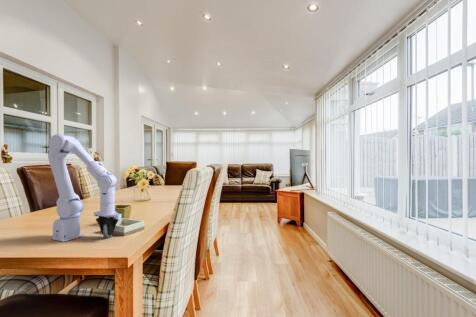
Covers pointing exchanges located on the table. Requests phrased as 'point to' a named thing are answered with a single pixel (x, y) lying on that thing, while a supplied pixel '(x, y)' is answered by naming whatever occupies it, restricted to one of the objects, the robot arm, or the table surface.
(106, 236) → the peg
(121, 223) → the box
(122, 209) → the flower pot
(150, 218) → the table surface
